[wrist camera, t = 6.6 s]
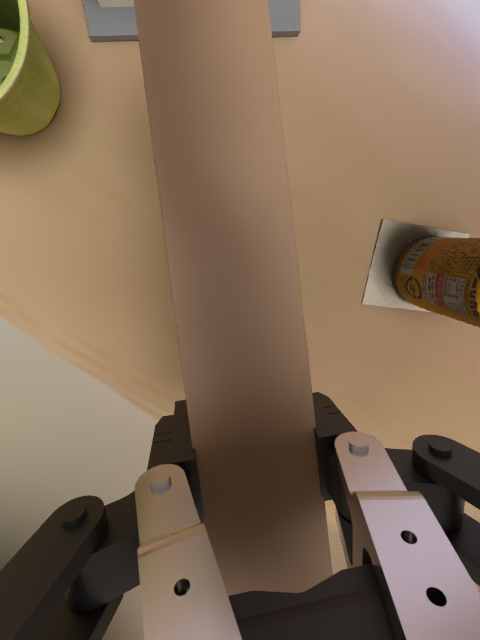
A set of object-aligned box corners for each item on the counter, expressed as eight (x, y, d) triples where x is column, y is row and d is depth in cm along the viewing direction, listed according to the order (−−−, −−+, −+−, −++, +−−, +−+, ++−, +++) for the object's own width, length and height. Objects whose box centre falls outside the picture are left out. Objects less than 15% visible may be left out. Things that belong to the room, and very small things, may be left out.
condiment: (443, 313, 30) (596, 362, 19) (361, 303, 29) (472, 350, 17) (467, 233, 29) (652, 234, 17) (381, 219, 27) (518, 209, 16)
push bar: (232, 14, 14) (250, -156, 9) (296, 557, 15) (345, 683, 10) (145, 15, 13) (112, -161, 8) (218, 574, 14) (227, 715, 9)
